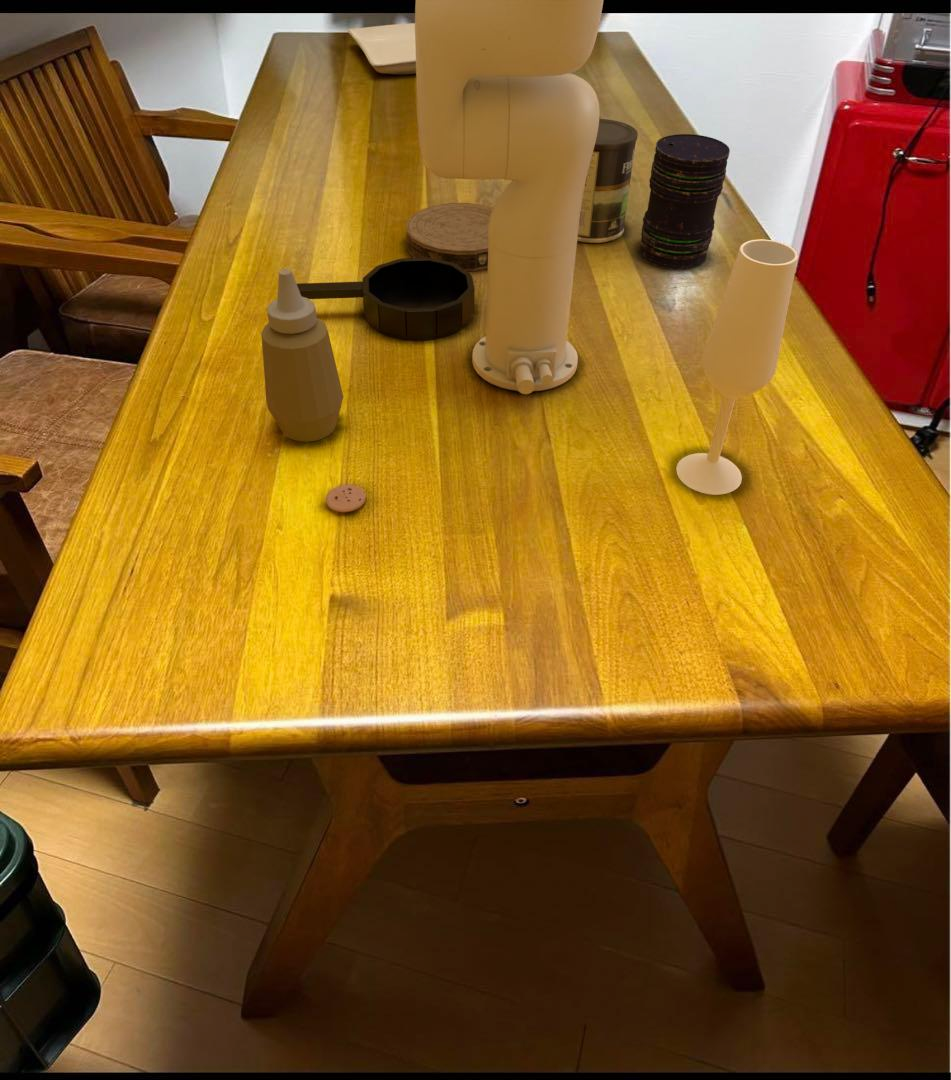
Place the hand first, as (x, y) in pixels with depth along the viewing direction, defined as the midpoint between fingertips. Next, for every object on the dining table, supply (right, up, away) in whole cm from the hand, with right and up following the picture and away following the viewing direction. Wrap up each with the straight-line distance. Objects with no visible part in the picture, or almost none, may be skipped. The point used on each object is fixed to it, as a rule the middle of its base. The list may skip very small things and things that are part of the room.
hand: (514, 10), depth 109 cm
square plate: (-17, +39, +80) cm, 91 cm away
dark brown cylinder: (+24, -27, +14) cm, 38 cm away
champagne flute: (+19, -62, -22) cm, 68 cm away
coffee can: (+12, -21, +19) cm, 31 cm away
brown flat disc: (-7, -25, +15) cm, 30 cm away
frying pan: (-17, -39, 0) cm, 43 cm away
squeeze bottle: (-23, -56, -17) cm, 63 cm away
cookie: (-18, -65, -26) cm, 72 cm away
